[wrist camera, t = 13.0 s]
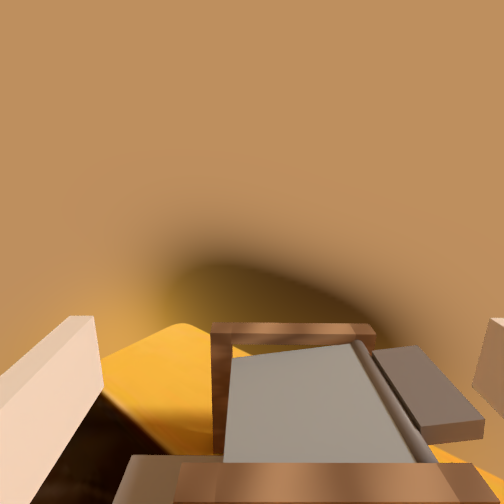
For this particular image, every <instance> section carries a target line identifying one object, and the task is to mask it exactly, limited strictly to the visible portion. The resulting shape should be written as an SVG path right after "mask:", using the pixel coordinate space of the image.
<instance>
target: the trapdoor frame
mask: <svg viewBox="0 0 504 504" xmlns="http://www.w3.org/2000/svg"><path fill="white" fill-rule="evenodd" d="M210 336H211V375H212V414H213V453H224V447H225V435H226V423H227V411H228V399H229V387H230V375H231V364H232V344H277V345H280V344H281V345H342V344H350V343H351V342H352V341H354V340H360V341H362V342H363V344H364V345H365V347H366V348H367V350H368V352H369V353H370V355H371V356H372V351H374V347H375V341H376V333H375V332H374V330H373V329H372V328H371V326H370V325H369V324H332V323H331V324H328V323H225V322H224V323H223V322H213V324H212V329H211V333H210ZM173 504H500V501H499V499H498V498H497V497H496V495H495V494H494V493H493V491H492V490H491V489H490V487H489V486H488V484H487V483H486V482H485V480H484V479H483V478H482V476H481V475H480V474H479V472H478V471H477V470H476V468H475V467H474V466H473V464H472V463H183V462H182V464H181V468H180V473H179V477H178V482H177V486H176V491H175V495H174V500H173Z"/></svg>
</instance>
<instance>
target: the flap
mask: <svg viewBox="0 0 504 504" xmlns="http://www.w3.org/2000/svg"><path fill="white" fill-rule="evenodd" d="M484 424H485V419H484V418H483V416H482V415H481V414H480V413H479V412H478V411H477V410H476V409H475V408H474V407H473V405H472V404H471V403H470V402H469V401H468V400H467V399H466V398H465V397H464V396H463V395H462V393H461V392H460V391H459V390H458V389H457V388H456V387H455V386H454V385H453V384H452V383H451V381H449V379H448V378H447V377H446V376H445V375H444V374H443V373H442V372H441V371H440V370H439V369H438V367H437V366H436V365H435V364H434V363H433V362H432V361H431V360H430V359H429V358H428V356H427V355H426V354H425V353H424V352H423V351H422V350H421V349H420V348H419V347H418V346H417V345H415V346H408V347H399V348H391V349H383V350H374V351H372V356H371V355H370V353H369V352H368V350H367V348H366V347H365V345H364V344H363V342H362V341H360V340H354V341H352V342H351V343H350V344H342V345H334V346H326V347H318V348H311V349H303V350H294V351H286V352H278V353H270V354H262V355H254V356H246V357H238V358H232V364H231V375H230V387H229V399H228V411H227V423H226V435H225V447H224V459H223V463H439V462H438V461H437V459H436V458H435V456H434V455H433V453H432V451H431V450H430V448H429V447H428V445H433V444H442V443H451V442H459V441H468V440H476V439H483V434H484Z"/></svg>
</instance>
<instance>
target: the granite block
mask: <svg viewBox="0 0 504 504" xmlns="http://www.w3.org/2000/svg"><path fill="white" fill-rule="evenodd" d="M223 459H224V456H196V455H132V456H131V459H130V461H129V464H128V466H127V468H126V471H125V473H124V476H123V478H122V481H121V483H120V486H119V488H118V491H117V493H116V496H115V498H114V501H113V503H112V504H173V500H174V495H175V491H176V486H177V482H178V477H179V473H180V468H181V464H182V462H183V463H223Z"/></svg>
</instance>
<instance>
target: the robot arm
mask: <svg viewBox="0 0 504 504" xmlns="http://www.w3.org/2000/svg"><path fill="white" fill-rule="evenodd" d="M103 387H104V382H103V376H102V369H101V362H100V356H99V349H98V342H97V336H96V329H95V322H94V316H69V317H68V318H67V319H66V320H64V321H63V322H62V323H61V324H60V325H59V326H58V327H56V328H55V329H54V330H53V331H52V332H51V333H49V334H48V335H47V336H46V337H45V338H44V339H43V340H41V341H40V342H39V343H38V344H37V345H36V346H35V347H33V348H32V349H31V350H30V351H29V352H28V353H26V354H25V355H24V356H23V357H22V358H21V359H20V360H18V362H16V363H15V364H14V365H13V366H11V367H10V368H9V369H8V370H7V371H6V372H5V373H4V374H2V375H1V376H0V504H30V502H31V501H32V499H33V497H34V496H35V494H36V493H37V491H38V490H39V488H40V486H41V485H42V483H43V482H44V480H45V479H46V477H47V475H48V474H49V472H50V471H51V469H52V468H53V466H54V464H55V463H56V461H57V460H58V458H59V457H60V455H61V453H62V452H63V450H64V449H65V447H66V445H67V444H68V442H69V441H70V439H71V438H72V436H73V434H74V433H75V431H76V430H77V428H78V427H79V425H80V423H81V422H82V420H83V419H84V417H85V416H86V414H87V412H88V411H89V409H90V408H91V406H92V405H93V403H94V401H95V400H96V398H97V397H98V395H99V394H100V392H101V390H102V389H103ZM472 387H473V388H474V389H475V390H476V391H477V392H478V393H479V394H480V395H481V396H482V397H483V398H484V399H485V400H486V401H487V402H488V403H489V404H490V405H491V406H492V407H493V408H494V409H495V410H496V411H497V412H498V413H499V414H500V415H501V416H502V417H503V418H504V318H490V319H489V323H488V327H487V331H486V334H485V338H484V342H483V346H482V350H481V353H480V357H479V361H478V364H477V368H476V372H475V376H474V379H473V383H472Z"/></svg>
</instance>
